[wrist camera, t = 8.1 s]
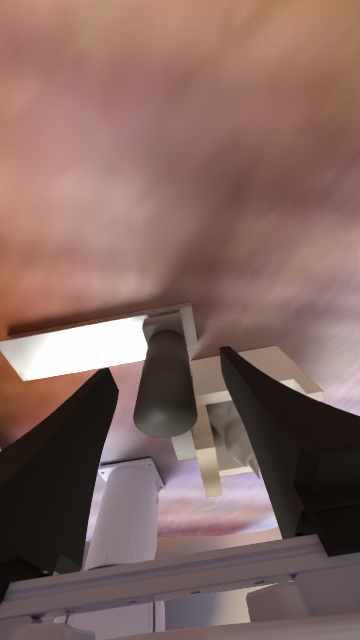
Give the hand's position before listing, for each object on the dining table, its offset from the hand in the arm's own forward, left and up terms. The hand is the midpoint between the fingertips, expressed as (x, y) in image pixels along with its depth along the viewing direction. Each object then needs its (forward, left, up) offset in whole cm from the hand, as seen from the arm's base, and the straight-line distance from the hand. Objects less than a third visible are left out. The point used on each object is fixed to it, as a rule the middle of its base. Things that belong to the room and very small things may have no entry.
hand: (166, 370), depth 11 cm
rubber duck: (-11, -5, -6) cm, 14 cm away
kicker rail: (0, +6, -6) cm, 8 cm away
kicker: (-6, 0, -5) cm, 8 cm away
